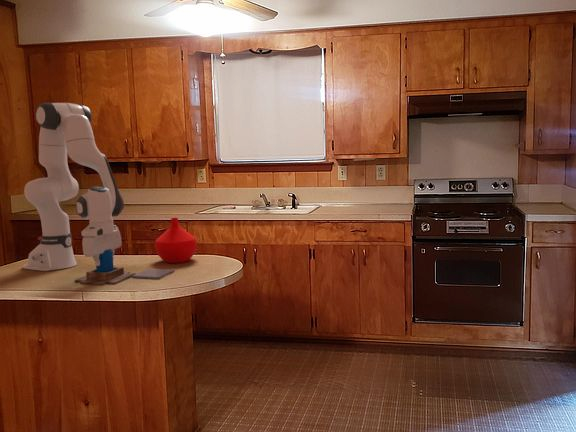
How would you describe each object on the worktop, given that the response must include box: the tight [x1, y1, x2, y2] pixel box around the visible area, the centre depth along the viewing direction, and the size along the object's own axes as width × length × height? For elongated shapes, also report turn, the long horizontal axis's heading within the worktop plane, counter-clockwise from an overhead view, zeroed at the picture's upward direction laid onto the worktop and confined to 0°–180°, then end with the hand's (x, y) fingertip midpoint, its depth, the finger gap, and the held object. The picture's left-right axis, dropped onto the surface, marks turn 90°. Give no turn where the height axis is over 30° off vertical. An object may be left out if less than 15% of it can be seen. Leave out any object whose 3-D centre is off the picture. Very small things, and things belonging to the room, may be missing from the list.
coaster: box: [131, 268, 175, 280], centre depth 226 cm, size 12×12×1 cm
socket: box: [74, 266, 137, 286], centre depth 222 cm, size 18×18×4 cm
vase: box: [154, 217, 198, 264], centre depth 249 cm, size 18×18×19 cm
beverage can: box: [95, 248, 115, 273], centre depth 221 cm, size 6×6×12 cm
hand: (104, 263), depth 221 cm, fingers closed on beverage can, 6 cm apart
